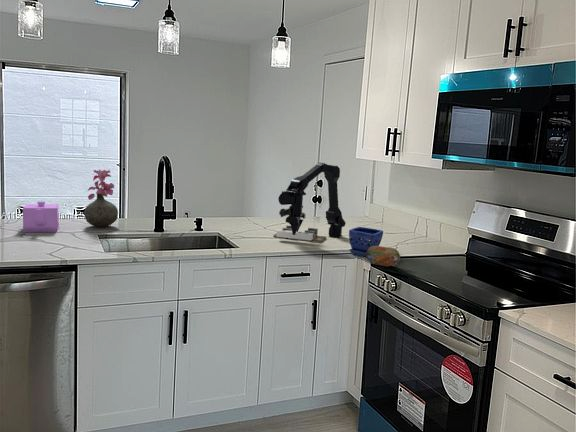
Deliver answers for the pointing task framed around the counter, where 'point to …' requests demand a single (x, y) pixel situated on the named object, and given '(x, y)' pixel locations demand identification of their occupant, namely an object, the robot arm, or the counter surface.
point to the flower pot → (364, 239)
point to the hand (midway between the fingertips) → (294, 234)
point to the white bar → (297, 235)
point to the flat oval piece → (383, 256)
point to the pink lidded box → (41, 217)
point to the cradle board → (318, 239)
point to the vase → (101, 203)
